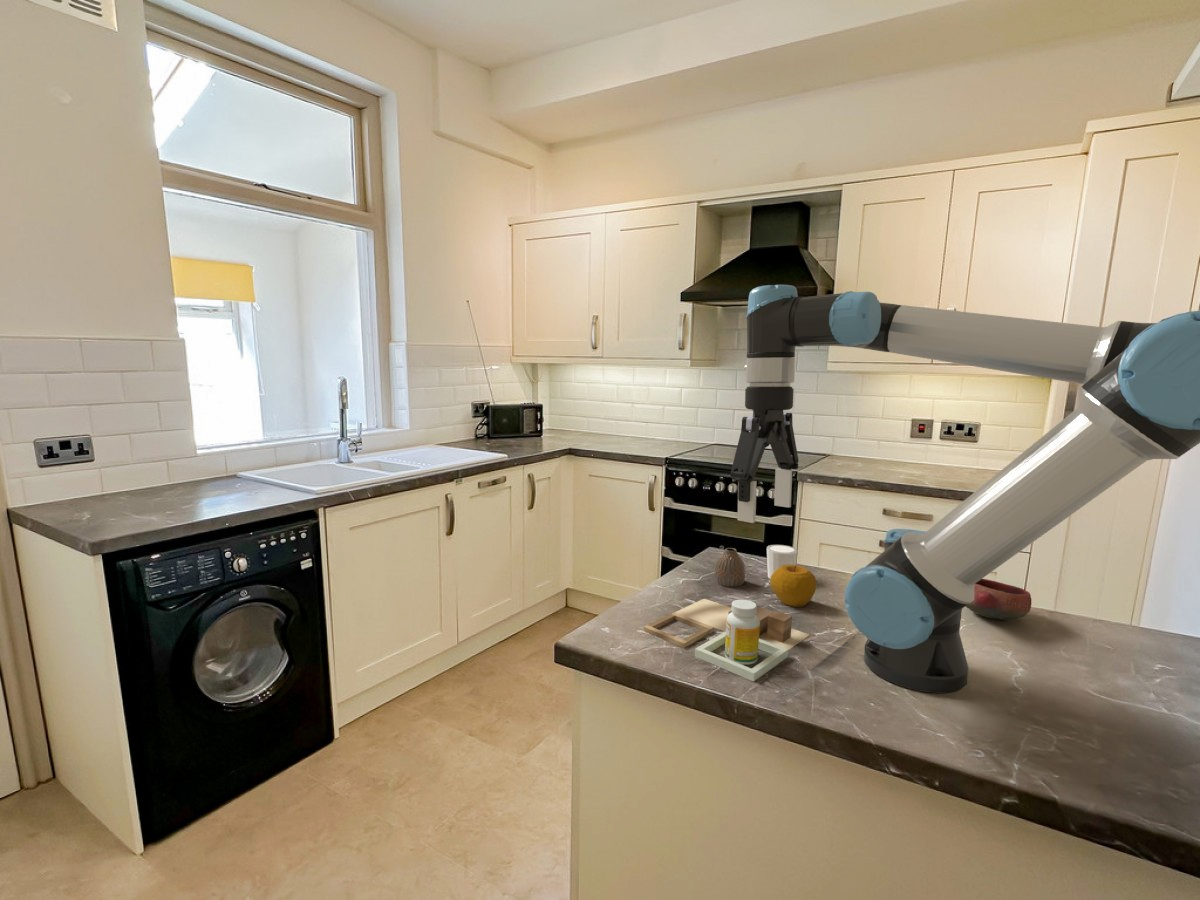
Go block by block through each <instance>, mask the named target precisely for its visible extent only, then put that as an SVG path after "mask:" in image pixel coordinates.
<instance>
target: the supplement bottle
mask: <svg viewBox="0 0 1200 900" xmlns="http://www.w3.org/2000/svg"><path fill="white" fill-rule="evenodd" d="M731 610H732V612H731V613H730V614H729V615H728V616H727V622H726V640H725V644H724V645H725V646H724V656H725V657H724V658H727V659H729V660H732V661H734V662H736V663H739V664H741V665H744V666H746V665H753V664H755V663H756V662H758V658H759V649H758V646H759V629H760V621H759V618H758V617H757V616H756V615H755V614H756V612H757V604H756V603H755V602H754V601H752V600H749V599H736V600H733V601H732V602H731Z"/></svg>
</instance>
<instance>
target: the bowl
mask: <svg viewBox="0 0 1200 900" xmlns="http://www.w3.org/2000/svg"><path fill="white" fill-rule="evenodd" d="M965 608H967V609H968V610H970V611H971V612H973V613H975V614H977V615H980V616H982V617H985V618H986V617H987V618H991V619H995V620H1003V621H1004V620H1005V621H1009V620H1011V621H1012V620H1019V619H1021V618H1023V617H1025V616H1026V615H1027V614H1028V613H1029V612H1030V611H1031V609H1032V595H1031V593H1030V592H1029V591H1027V590H1026V589H1025V588H1024V589H1023V588H1021V587H1018V586H1014V585H1011V584H1006V583H1003V582H999V581H995V580H991V579H987V578H982V579H981V580H979V581H978V582H977V583H975V584H974V600H973V601H972V602H971V603H970V604H968V605H967V606H965Z"/></svg>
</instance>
